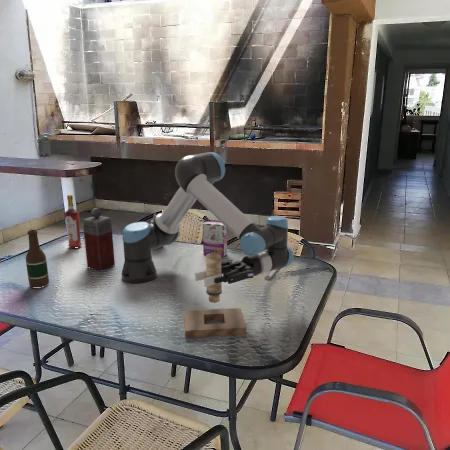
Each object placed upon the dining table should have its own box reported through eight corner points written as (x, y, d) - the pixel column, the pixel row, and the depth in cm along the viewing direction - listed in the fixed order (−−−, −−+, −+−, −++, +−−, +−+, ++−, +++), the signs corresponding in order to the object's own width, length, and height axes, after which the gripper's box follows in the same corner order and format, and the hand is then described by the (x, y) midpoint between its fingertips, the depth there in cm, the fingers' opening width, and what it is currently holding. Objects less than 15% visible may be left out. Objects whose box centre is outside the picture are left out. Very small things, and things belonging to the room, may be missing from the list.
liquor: (65, 249, 226) (59, 196, 218) (72, 244, 233) (66, 193, 225) (78, 249, 224) (72, 197, 217) (85, 245, 231) (79, 194, 224)
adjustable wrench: (269, 281, 185) (269, 277, 184) (256, 278, 188) (256, 275, 187) (290, 262, 206) (290, 259, 205) (277, 260, 209) (277, 256, 208)
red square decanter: (98, 260, 209) (93, 204, 201) (115, 265, 203) (110, 207, 195) (83, 266, 201) (77, 208, 194) (100, 271, 196) (95, 211, 188)
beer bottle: (53, 283, 183) (46, 229, 177) (38, 290, 176) (31, 234, 170) (40, 280, 186) (32, 227, 180) (25, 287, 180) (17, 232, 173)
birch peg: (206, 304, 143) (205, 258, 138) (206, 297, 148) (205, 253, 143) (222, 303, 143) (222, 258, 139) (221, 296, 148) (220, 252, 144)
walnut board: (185, 337, 140) (184, 330, 140) (185, 316, 154) (184, 310, 153) (246, 334, 142) (246, 327, 141) (240, 314, 155) (240, 308, 155)
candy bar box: (227, 254, 217) (227, 222, 212) (223, 257, 212) (223, 225, 208) (206, 251, 221) (206, 220, 216) (203, 254, 216) (202, 223, 211)
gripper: (272, 282, 147) (215, 300, 134) (240, 266, 161) (186, 281, 148) (273, 261, 145) (215, 277, 132) (240, 247, 159) (185, 261, 146)
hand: (200, 279), depth 140 cm, fingers closed on birch peg, 5 cm apart
